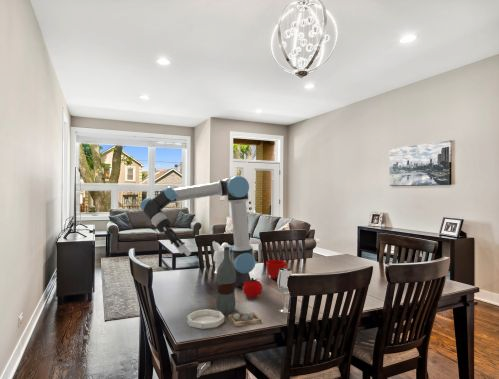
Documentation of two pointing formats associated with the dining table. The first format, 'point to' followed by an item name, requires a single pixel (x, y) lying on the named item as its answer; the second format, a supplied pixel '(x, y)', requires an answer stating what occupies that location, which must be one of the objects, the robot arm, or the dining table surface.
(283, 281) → the wineglass
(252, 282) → the tomato
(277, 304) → the dining table surface
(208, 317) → the bowl
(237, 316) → the pebble
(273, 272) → the ceramic cup
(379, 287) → the dining table surface
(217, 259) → the cherub figurine
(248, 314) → the pebble
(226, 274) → the vodka
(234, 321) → the parts tray
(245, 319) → the pebble
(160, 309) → the dining table surface
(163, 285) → the dining table surface
